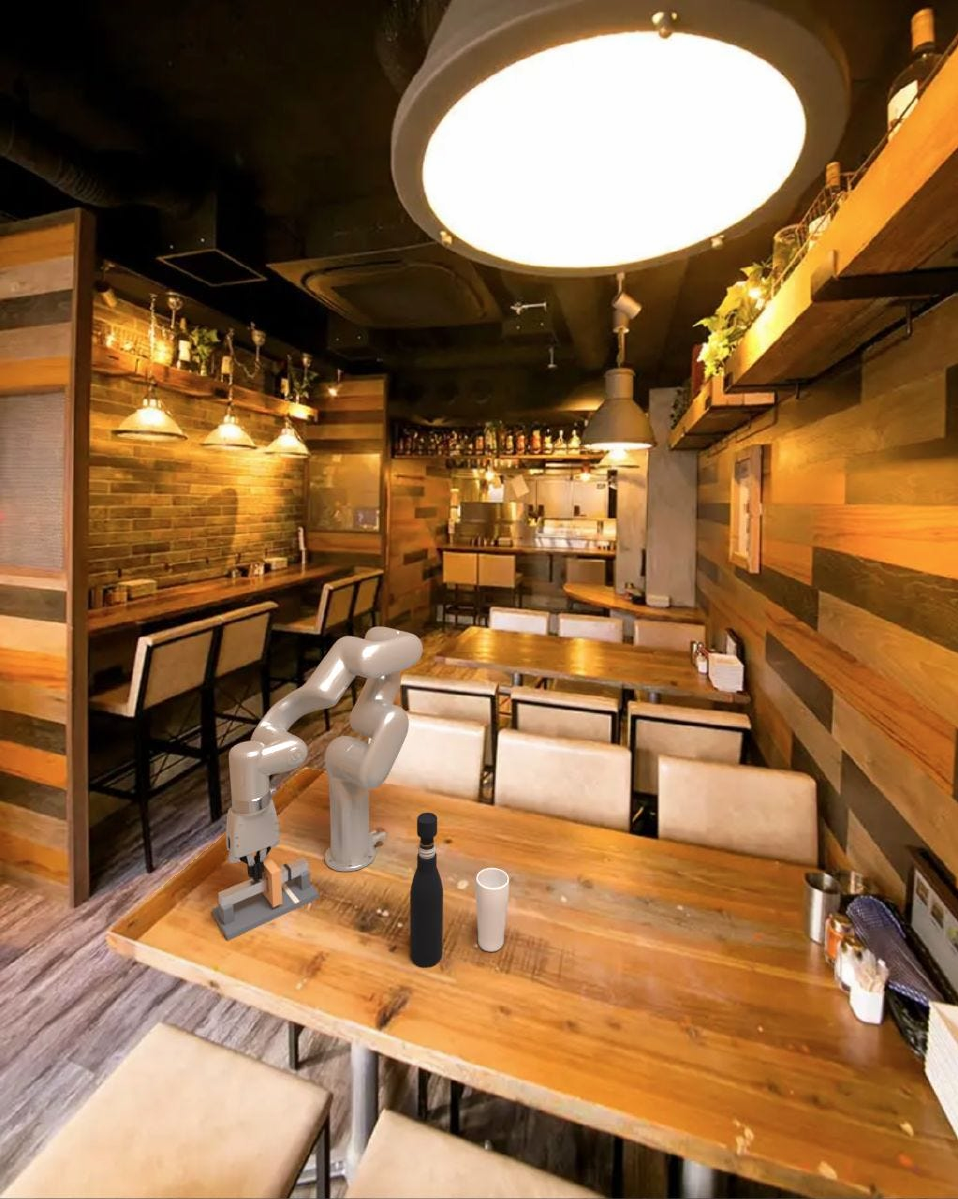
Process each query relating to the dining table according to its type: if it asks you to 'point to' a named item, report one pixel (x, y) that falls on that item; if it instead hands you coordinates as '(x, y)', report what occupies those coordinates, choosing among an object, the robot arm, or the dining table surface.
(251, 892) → the grey long bar
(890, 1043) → the dining table surface
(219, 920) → the pipe board
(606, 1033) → the dining table surface
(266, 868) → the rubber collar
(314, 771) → the dining table surface
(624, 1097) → the dining table surface
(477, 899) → the drinking glass
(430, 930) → the black bottle
